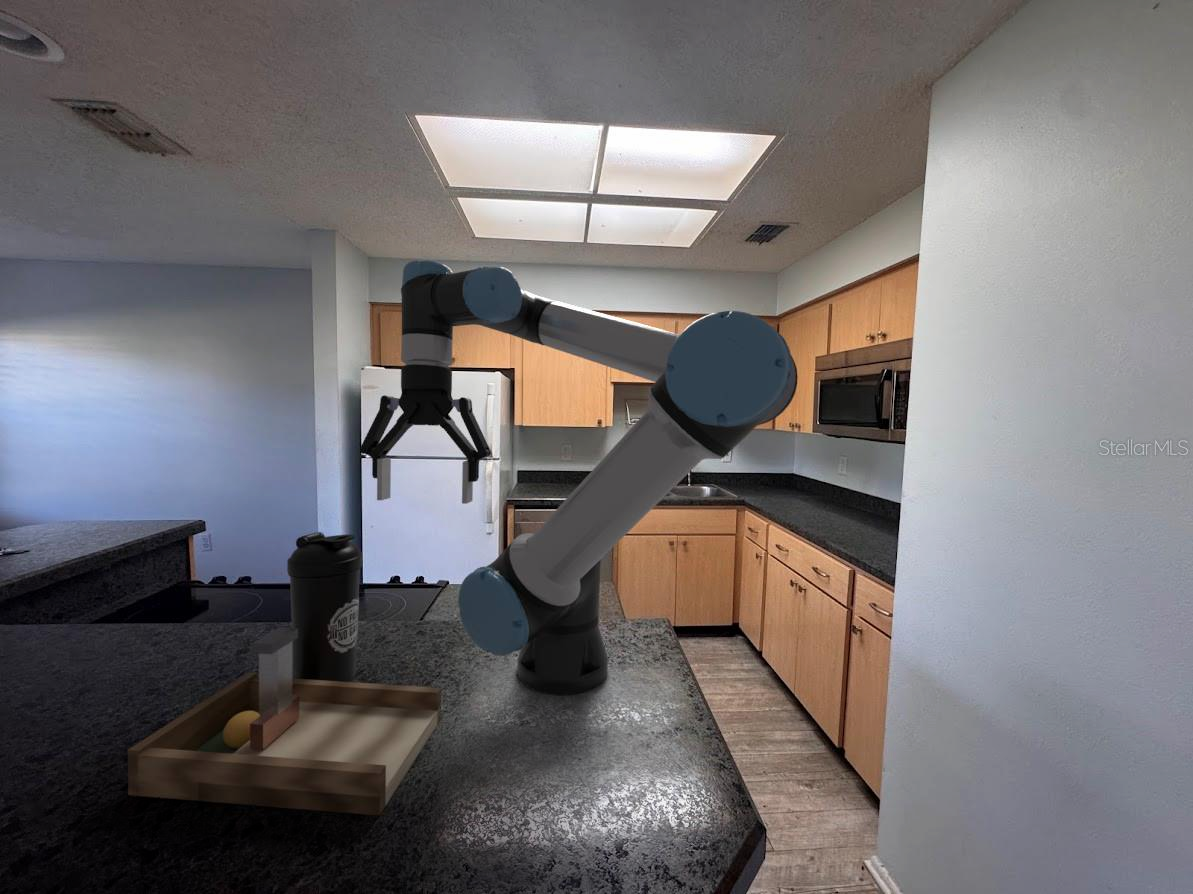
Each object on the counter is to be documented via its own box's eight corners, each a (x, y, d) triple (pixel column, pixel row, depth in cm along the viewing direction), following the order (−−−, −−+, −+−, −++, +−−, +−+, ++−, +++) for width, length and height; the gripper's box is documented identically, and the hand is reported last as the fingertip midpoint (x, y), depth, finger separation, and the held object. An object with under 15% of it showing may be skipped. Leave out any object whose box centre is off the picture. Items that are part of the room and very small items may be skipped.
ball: (244, 700, 60) (236, 731, 60) (219, 717, 56) (210, 750, 56) (274, 709, 60) (265, 739, 60) (251, 726, 56) (242, 759, 56)
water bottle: (328, 702, 68) (329, 545, 67) (270, 692, 70) (270, 540, 69) (375, 667, 78) (376, 531, 77) (322, 659, 80) (323, 526, 79)
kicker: (302, 718, 60) (302, 625, 60) (266, 749, 54) (266, 647, 54) (284, 716, 60) (284, 624, 60) (246, 748, 54) (246, 646, 54)
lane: (440, 719, 64) (441, 684, 64) (379, 815, 48) (379, 768, 48) (248, 706, 66) (248, 672, 66) (128, 795, 50) (127, 749, 50)
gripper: (511, 370, 76) (508, 499, 76) (363, 367, 77) (362, 494, 78) (498, 364, 68) (496, 507, 69) (335, 361, 70) (334, 501, 71)
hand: (425, 500), depth 73 cm, fingers open, 13 cm apart
